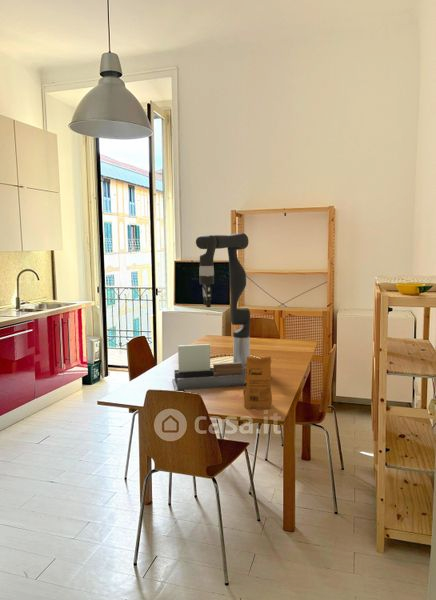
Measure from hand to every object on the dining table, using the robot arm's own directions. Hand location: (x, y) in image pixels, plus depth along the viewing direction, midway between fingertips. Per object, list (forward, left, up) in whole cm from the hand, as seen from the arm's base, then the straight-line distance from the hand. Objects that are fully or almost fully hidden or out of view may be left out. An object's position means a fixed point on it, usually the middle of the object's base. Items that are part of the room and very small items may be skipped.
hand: (207, 305), depth 246 cm
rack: (+12, 0, -38) cm, 40 cm away
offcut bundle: (+15, +8, -37) cm, 40 cm away
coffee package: (+45, +15, -38) cm, 61 cm away
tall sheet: (+7, -8, -37) cm, 38 cm away
